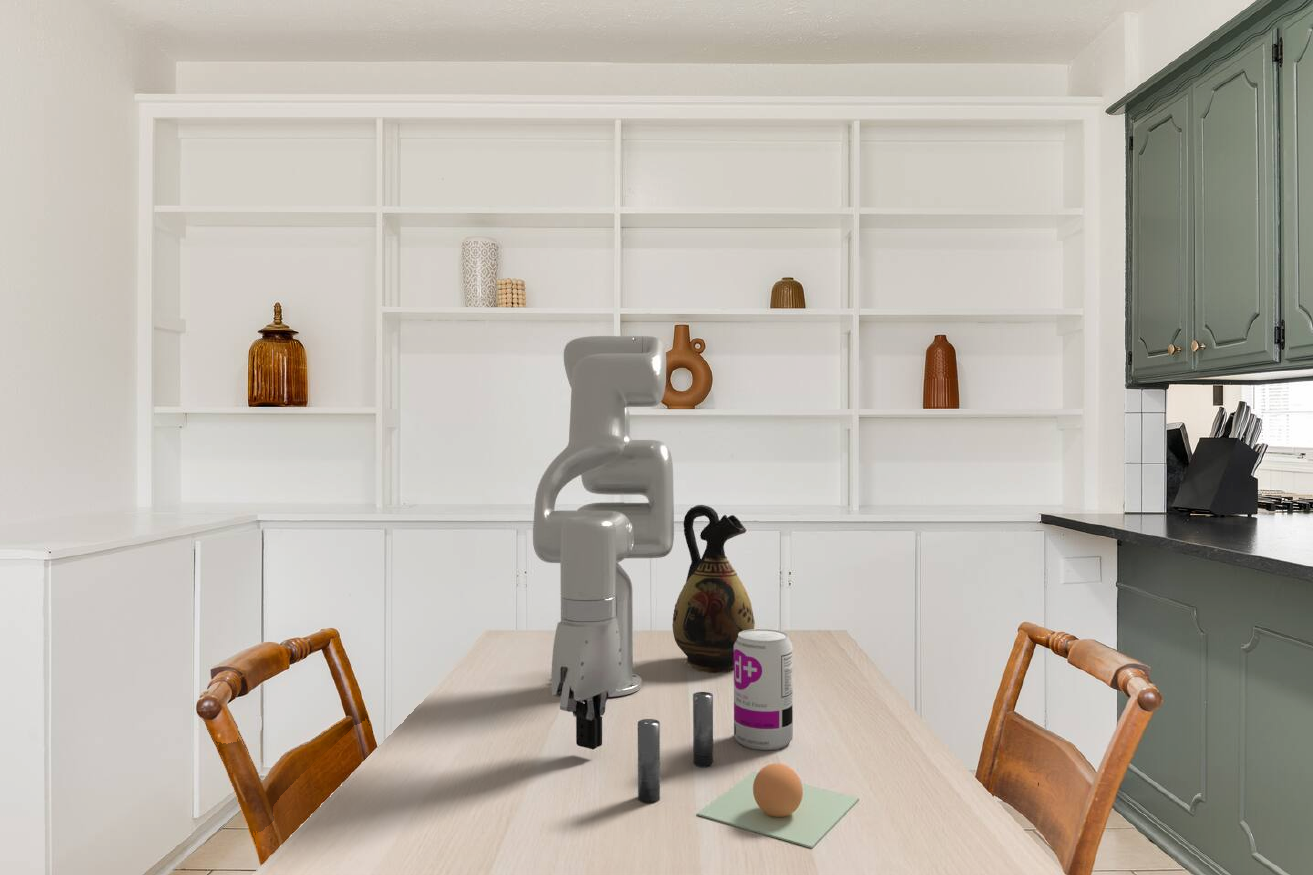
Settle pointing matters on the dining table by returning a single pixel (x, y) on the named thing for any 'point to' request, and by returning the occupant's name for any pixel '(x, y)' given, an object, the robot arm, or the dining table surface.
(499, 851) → the dining table surface
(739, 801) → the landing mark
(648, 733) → the post
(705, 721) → the post
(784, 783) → the ball
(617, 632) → the robot arm
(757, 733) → the supplement can
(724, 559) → the ceramic jug
